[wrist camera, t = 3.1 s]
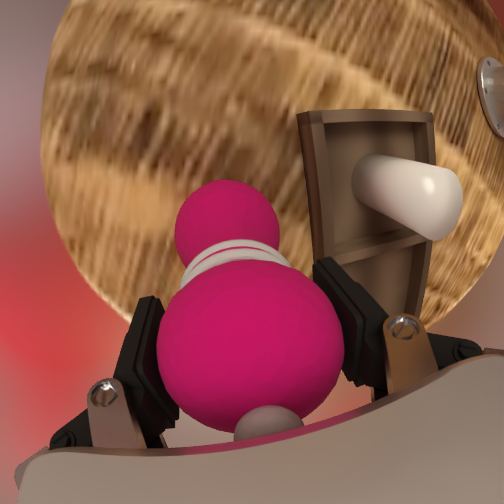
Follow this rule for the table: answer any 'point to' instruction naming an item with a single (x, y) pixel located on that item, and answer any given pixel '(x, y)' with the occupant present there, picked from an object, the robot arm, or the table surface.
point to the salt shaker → (409, 193)
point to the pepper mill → (244, 320)
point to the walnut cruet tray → (358, 214)
